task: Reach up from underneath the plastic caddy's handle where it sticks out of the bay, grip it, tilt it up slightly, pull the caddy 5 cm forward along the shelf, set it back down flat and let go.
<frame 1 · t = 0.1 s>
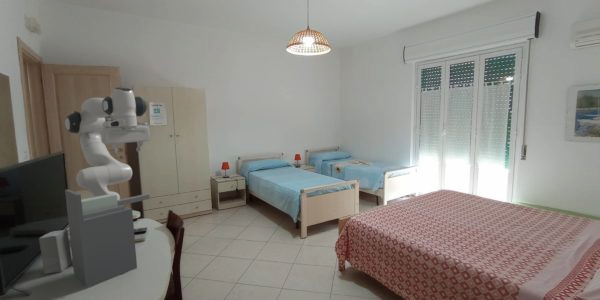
hand: (128, 152, 133), 48 cm above the table, tool pointing down, fingers open, 8 cm apart
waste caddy: (99, 212, 114), point 26 cm above the table, touching caddy bay
skincare box: (58, 268, 121), on the table
caddy bay: (106, 272, 117), on the table
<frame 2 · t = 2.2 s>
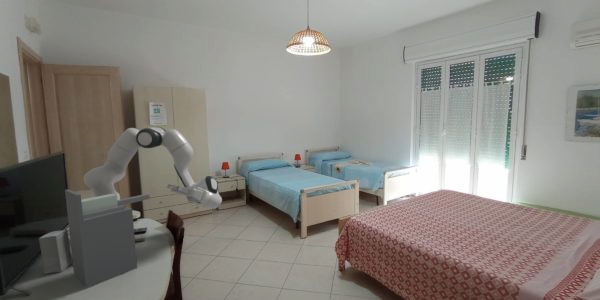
hand: (173, 187, 138), 30 cm above the table, tool pointing upward, fingers open, 8 cm apart
nothing on the table moved.
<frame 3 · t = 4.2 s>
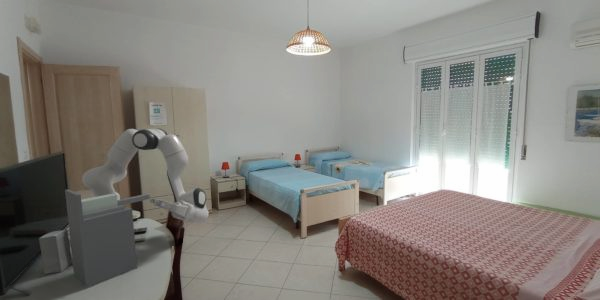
hand: (155, 202, 132), 24 cm above the table, tool pointing upward, fingers open, 8 cm apart
nothing on the table moved.
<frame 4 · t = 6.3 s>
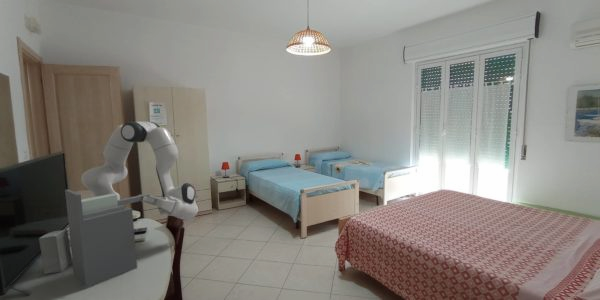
hand: (140, 196, 126), 28 cm above the table, tool pointing upward, fingers closed on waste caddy, 2 cm apart
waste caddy: (99, 212, 114), point 26 cm above the table, touching caddy bay, gripper
everything else where it was.
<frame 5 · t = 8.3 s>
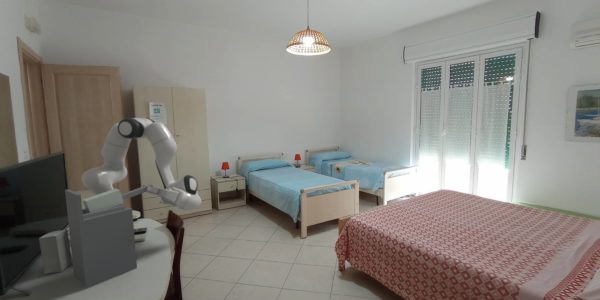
hand: (144, 187, 128), 32 cm above the table, tool pointing upward, fingers closed on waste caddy, 2 cm apart
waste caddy: (105, 208, 116), point 27 cm above the table, tilted 10°, touching caddy bay, gripper
everything else where it was.
when the fingers open (29 cm above the table, at t = 10.0 s): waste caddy stays where it is, resting on caddy bay.
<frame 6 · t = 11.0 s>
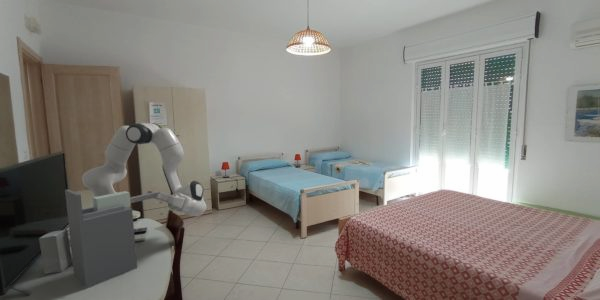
hand: (152, 193, 130), 29 cm above the table, tool pointing upward, fingers open, 8 cm apart
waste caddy: (112, 208, 118), point 26 cm above the table, touching caddy bay
everything else where it was.
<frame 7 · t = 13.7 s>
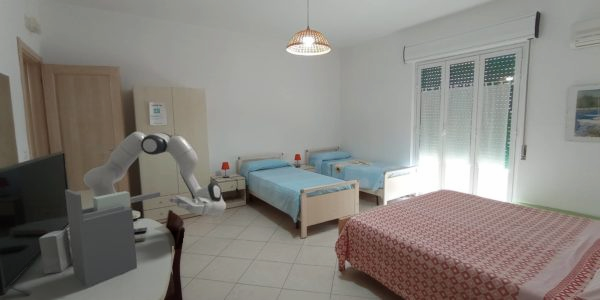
hand: (173, 202, 140), 22 cm above the table, tool pointing upward, fingers open, 8 cm apart
nothing on the table moved.
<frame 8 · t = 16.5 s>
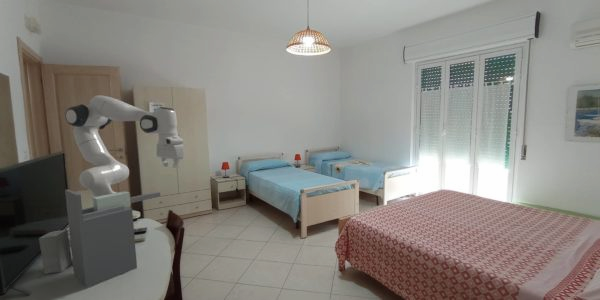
hand: (170, 167, 142), 39 cm above the table, tool pointing down, fingers open, 8 cm apart
nothing on the table moved.
at the end: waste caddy inside the target area (0.8 cm from its centre), point 26.0 cm above the table; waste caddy tilted 0°; the gripper is holding nothing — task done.
